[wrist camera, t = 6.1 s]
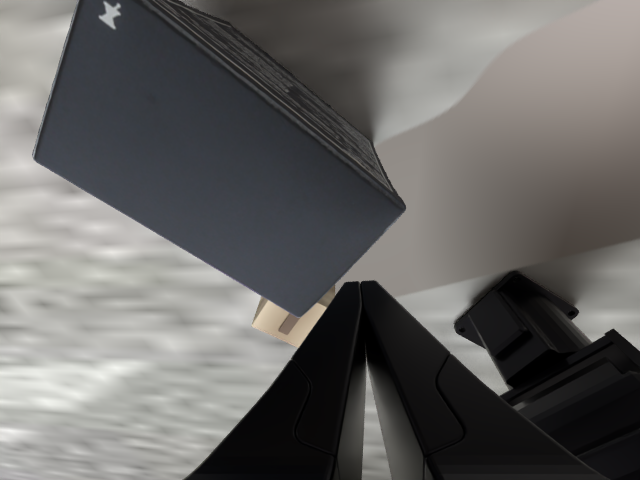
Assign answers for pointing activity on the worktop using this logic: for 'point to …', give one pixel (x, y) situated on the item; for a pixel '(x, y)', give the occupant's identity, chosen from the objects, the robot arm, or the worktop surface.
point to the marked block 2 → (289, 319)
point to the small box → (213, 148)
